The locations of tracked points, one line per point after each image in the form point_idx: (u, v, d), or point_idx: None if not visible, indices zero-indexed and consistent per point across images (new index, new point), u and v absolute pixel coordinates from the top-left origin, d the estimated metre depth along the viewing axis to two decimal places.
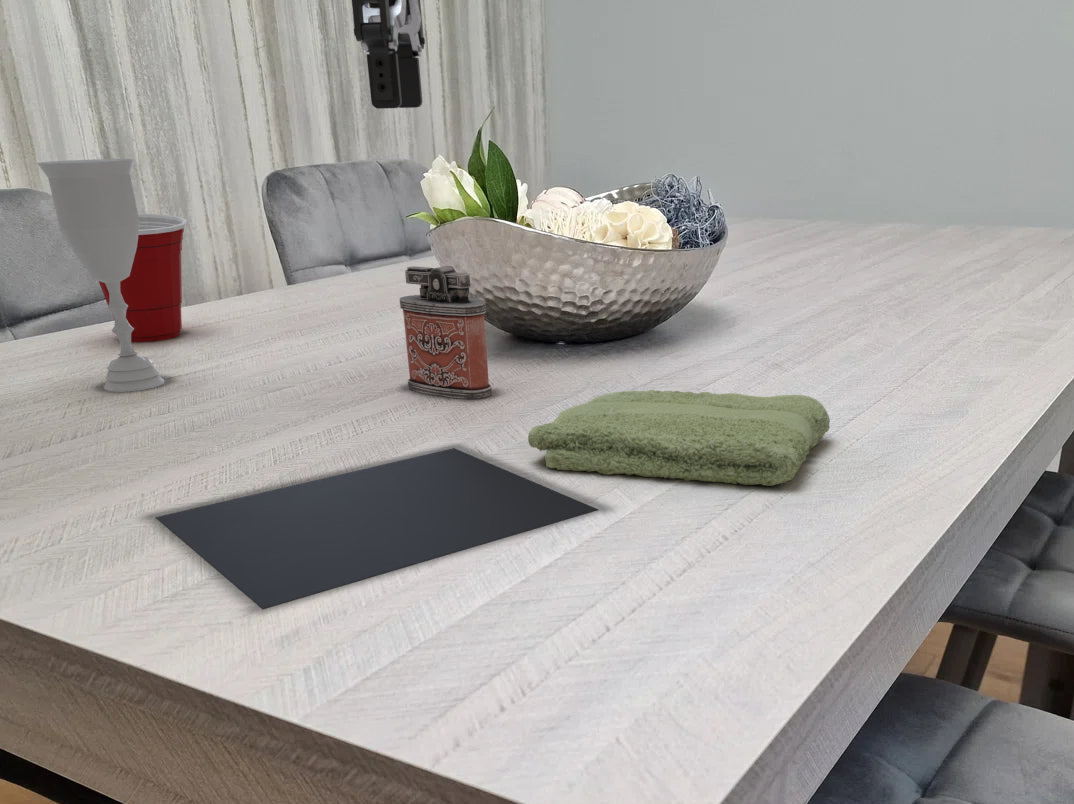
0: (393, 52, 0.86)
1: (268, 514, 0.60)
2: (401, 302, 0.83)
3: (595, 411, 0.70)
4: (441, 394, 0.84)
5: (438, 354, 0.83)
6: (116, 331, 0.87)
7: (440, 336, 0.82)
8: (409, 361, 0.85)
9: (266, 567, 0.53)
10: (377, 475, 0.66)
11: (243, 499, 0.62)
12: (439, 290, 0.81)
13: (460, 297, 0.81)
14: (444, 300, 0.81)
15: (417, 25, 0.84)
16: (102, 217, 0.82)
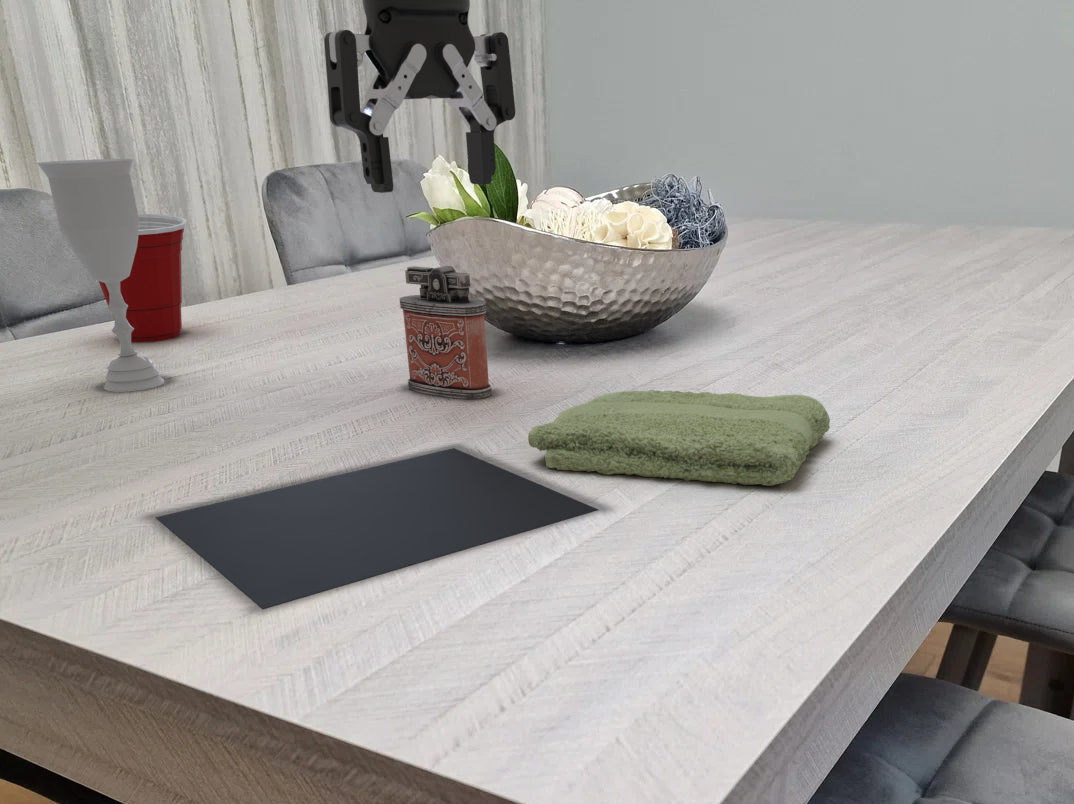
0: (469, 126, 0.80)
1: (268, 514, 0.60)
2: (401, 302, 0.83)
3: (595, 411, 0.70)
4: (441, 394, 0.84)
5: (438, 354, 0.83)
6: (116, 331, 0.87)
7: (440, 336, 0.82)
8: (409, 361, 0.85)
9: (266, 567, 0.53)
10: (377, 475, 0.66)
11: (243, 499, 0.62)
12: (439, 290, 0.81)
13: (460, 297, 0.81)
14: (444, 300, 0.81)
15: (469, 99, 0.77)
16: (102, 217, 0.82)
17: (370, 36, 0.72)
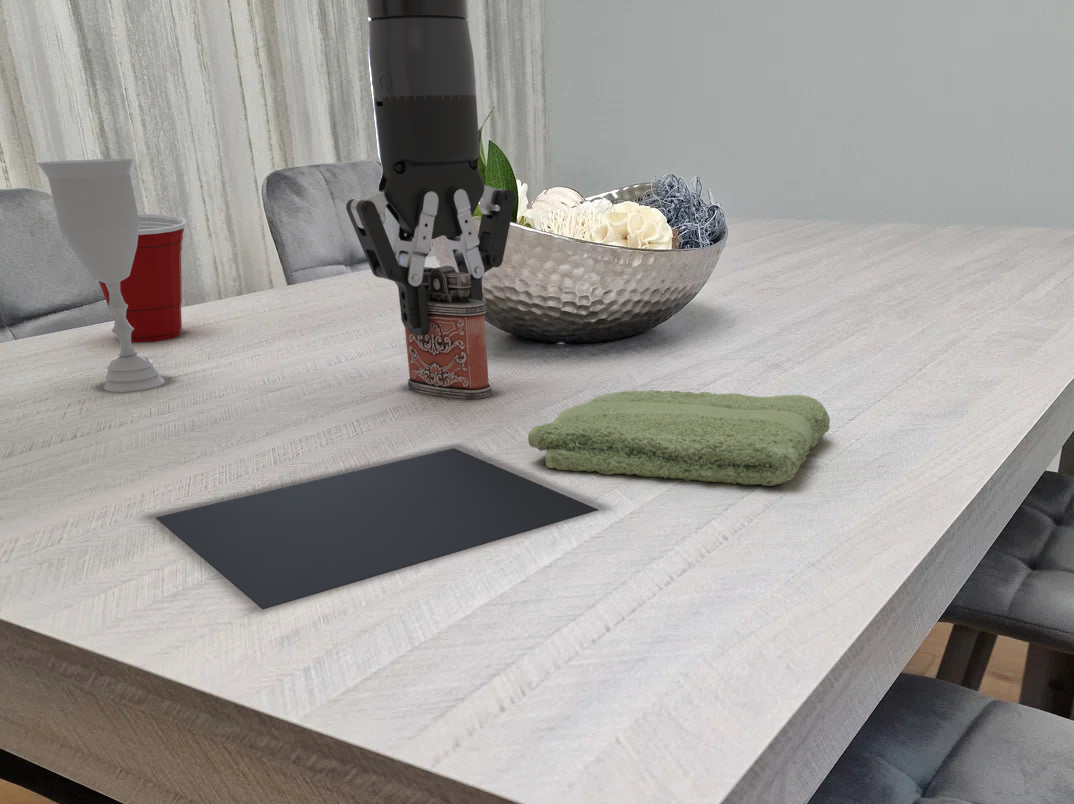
0: (457, 269, 0.83)
1: (268, 514, 0.60)
2: None
3: (595, 411, 0.70)
4: (441, 394, 0.84)
5: (438, 353, 0.83)
6: (116, 331, 0.87)
7: (440, 336, 0.82)
8: (409, 361, 0.85)
9: (266, 567, 0.53)
10: (377, 475, 0.66)
11: (243, 499, 0.62)
12: (439, 290, 0.81)
13: (460, 297, 0.81)
14: (444, 300, 0.81)
15: (465, 243, 0.80)
16: (102, 217, 0.82)
17: (385, 192, 0.76)
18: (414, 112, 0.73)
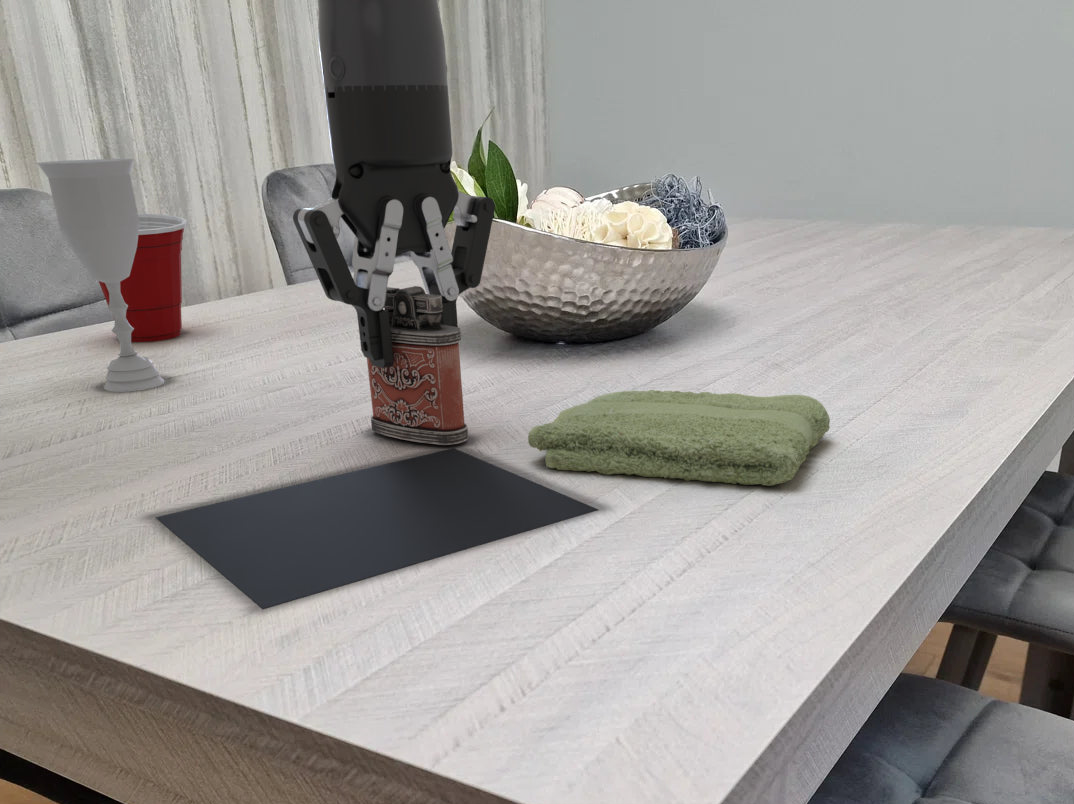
0: (427, 289, 0.71)
1: (268, 514, 0.60)
2: None
3: (595, 411, 0.70)
4: (409, 435, 0.72)
5: (405, 388, 0.71)
6: (116, 331, 0.87)
7: (407, 368, 0.70)
8: (372, 396, 0.73)
9: (266, 567, 0.53)
10: (377, 475, 0.66)
11: (243, 499, 0.62)
12: (406, 315, 0.69)
13: (430, 323, 0.69)
14: (412, 326, 0.69)
15: (435, 260, 0.68)
16: (102, 217, 0.82)
17: (339, 200, 0.64)
18: (372, 105, 0.61)
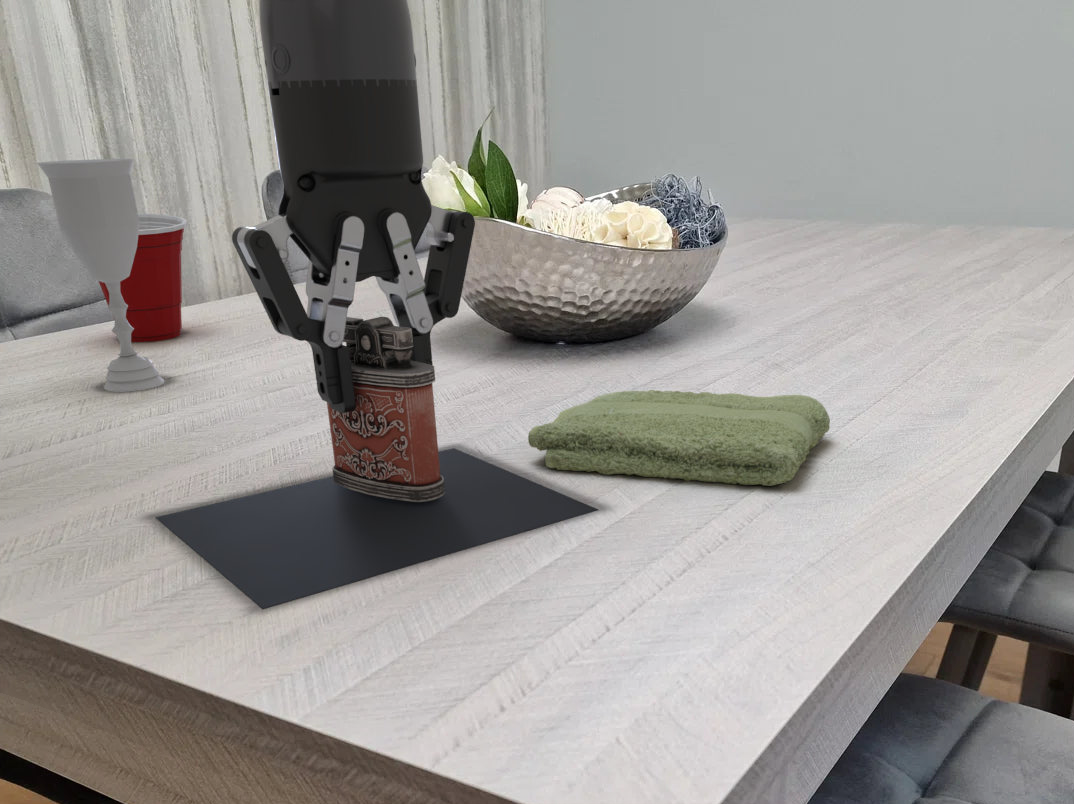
0: (396, 320, 0.61)
1: (268, 514, 0.60)
2: None
3: (595, 411, 0.70)
4: (375, 490, 0.61)
5: (370, 436, 0.60)
6: (116, 331, 0.87)
7: (372, 413, 0.60)
8: (333, 443, 0.63)
9: (266, 567, 0.53)
10: None
11: (243, 499, 0.62)
12: (370, 351, 0.59)
13: (399, 361, 0.58)
14: (377, 364, 0.59)
15: (404, 287, 0.58)
16: (102, 217, 0.82)
17: (287, 217, 0.54)
18: (324, 104, 0.51)
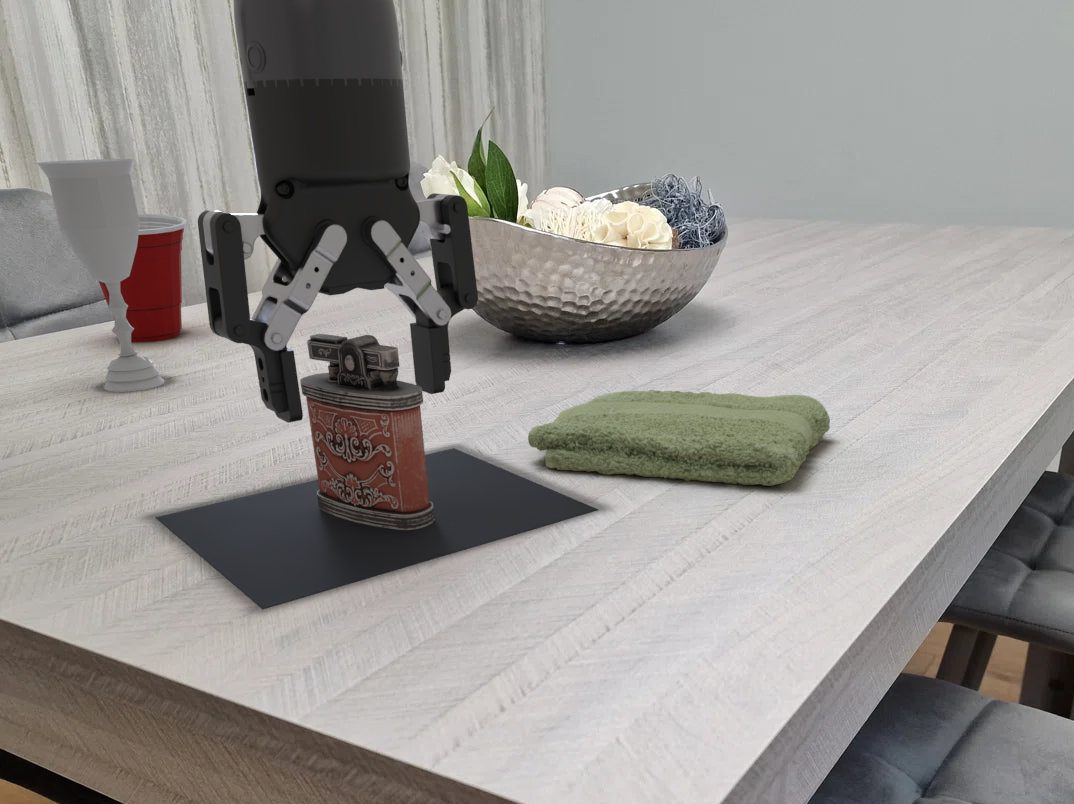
0: (414, 315, 0.58)
1: (268, 514, 0.60)
2: (302, 386, 0.57)
3: (595, 411, 0.70)
4: (361, 517, 0.58)
5: (355, 461, 0.57)
6: (116, 331, 0.87)
7: (357, 437, 0.56)
8: (317, 467, 0.60)
9: (266, 567, 0.53)
10: None
11: (243, 499, 0.62)
12: (354, 371, 0.55)
13: (384, 382, 0.55)
14: (362, 386, 0.56)
15: (411, 289, 0.55)
16: (102, 217, 0.82)
17: (264, 216, 0.50)
18: (302, 105, 0.47)
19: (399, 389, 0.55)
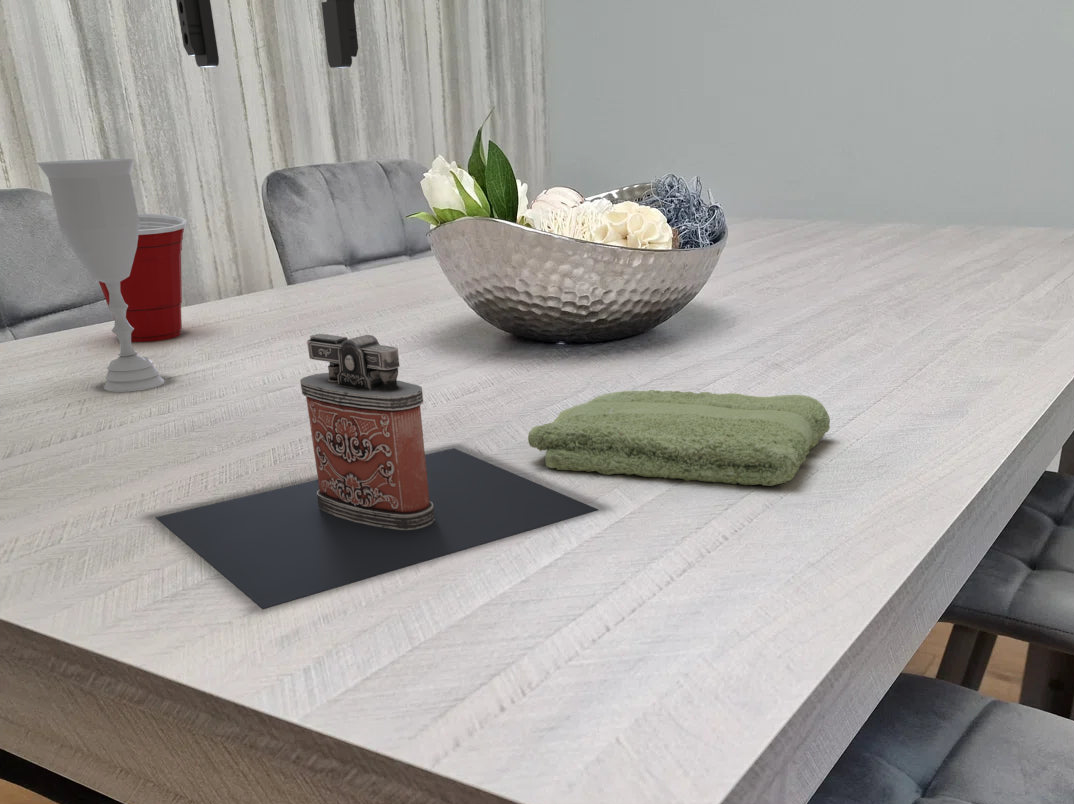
0: None
1: (268, 514, 0.60)
2: (302, 386, 0.57)
3: (595, 411, 0.70)
4: (361, 517, 0.58)
5: (355, 461, 0.57)
6: (116, 331, 0.87)
7: (357, 437, 0.56)
8: (317, 467, 0.60)
9: (266, 567, 0.53)
10: None
11: (243, 499, 0.62)
12: (354, 371, 0.55)
13: (384, 382, 0.55)
14: (362, 386, 0.56)
15: None
16: (102, 217, 0.82)
17: None
18: None
19: (399, 389, 0.55)
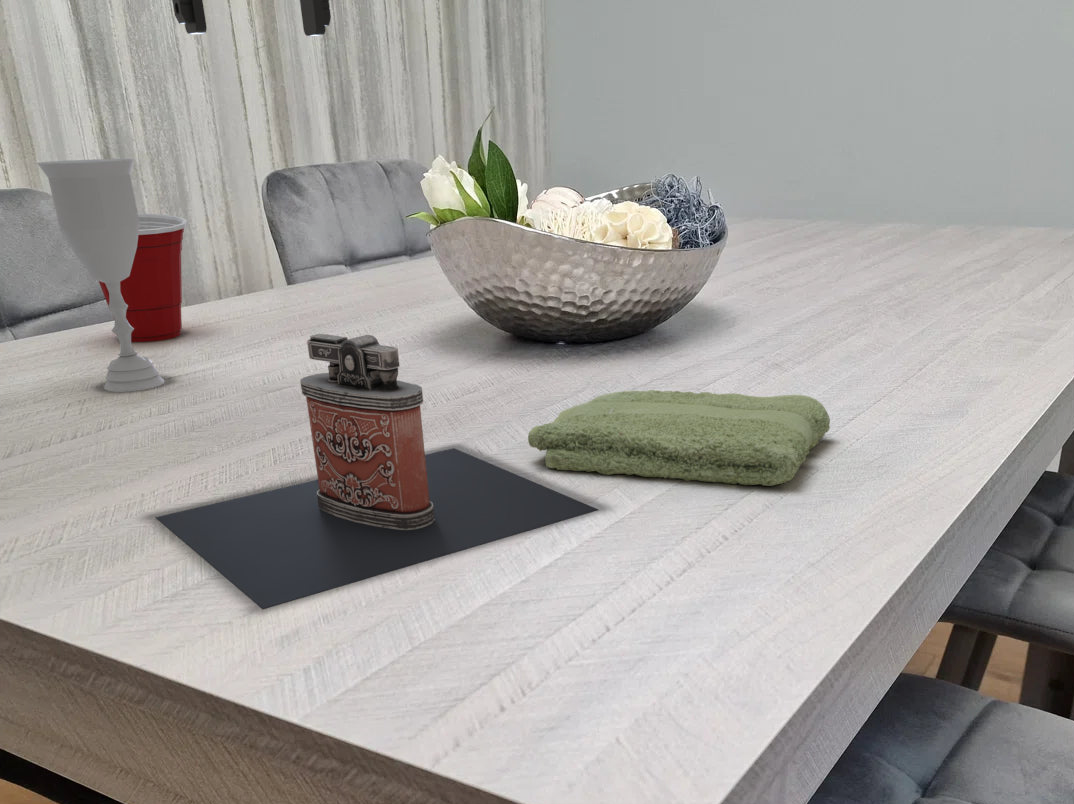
0: None
1: (268, 514, 0.60)
2: (302, 386, 0.57)
3: (595, 411, 0.70)
4: (361, 517, 0.58)
5: (355, 461, 0.57)
6: (116, 331, 0.87)
7: (357, 437, 0.56)
8: (317, 467, 0.60)
9: (266, 567, 0.53)
10: None
11: (243, 499, 0.62)
12: (354, 371, 0.55)
13: (384, 382, 0.55)
14: (362, 386, 0.56)
15: None
16: (102, 217, 0.82)
17: None
18: None
19: (399, 389, 0.55)
